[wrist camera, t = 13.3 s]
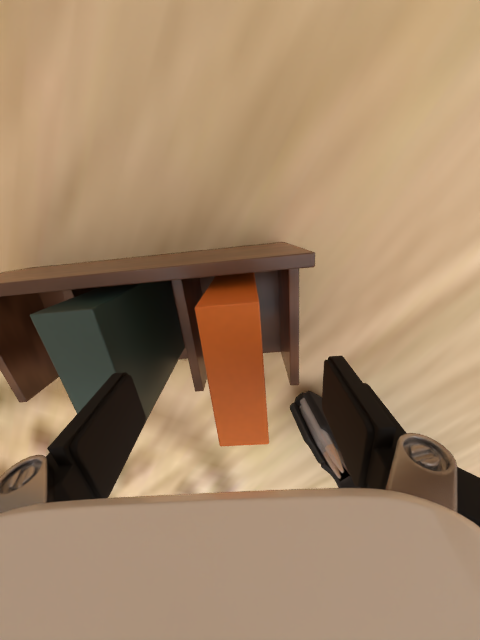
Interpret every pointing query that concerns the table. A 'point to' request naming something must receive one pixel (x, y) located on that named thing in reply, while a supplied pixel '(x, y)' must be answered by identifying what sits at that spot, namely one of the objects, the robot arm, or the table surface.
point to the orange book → (234, 358)
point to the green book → (113, 339)
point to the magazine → (320, 437)
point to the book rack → (179, 268)
